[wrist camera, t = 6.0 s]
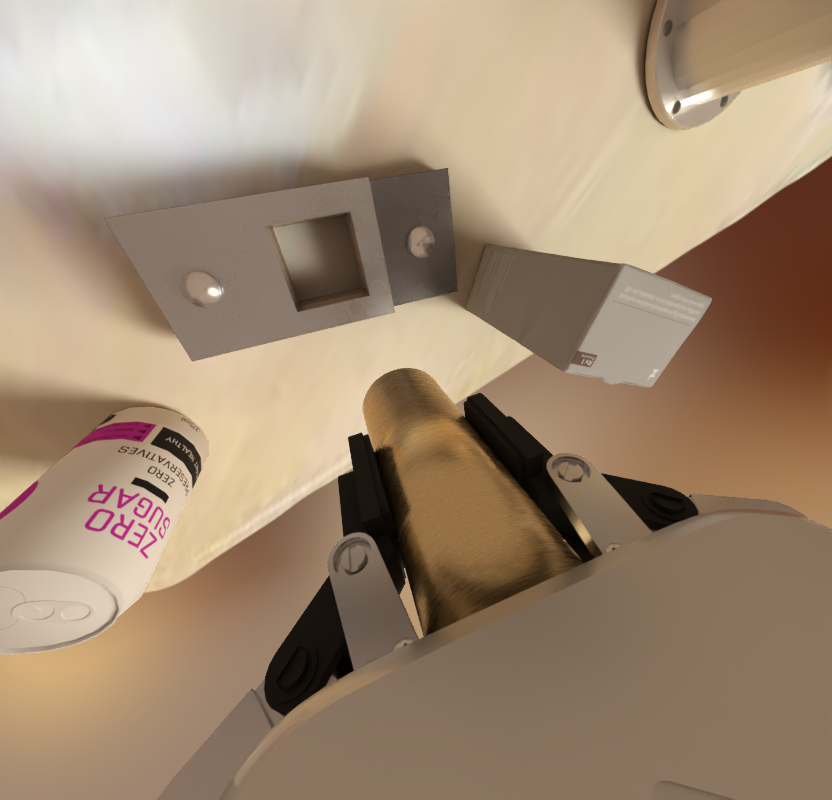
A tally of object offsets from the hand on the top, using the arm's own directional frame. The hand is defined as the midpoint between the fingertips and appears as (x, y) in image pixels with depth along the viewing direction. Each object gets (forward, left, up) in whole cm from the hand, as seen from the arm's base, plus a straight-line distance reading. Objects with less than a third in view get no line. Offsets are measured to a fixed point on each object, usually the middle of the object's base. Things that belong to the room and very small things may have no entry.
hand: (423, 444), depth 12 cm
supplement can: (+21, +6, -19) cm, 29 cm away
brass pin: (0, 0, -3) cm, 3 cm away
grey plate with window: (+2, -6, -19) cm, 20 cm away
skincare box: (-15, 0, -19) cm, 25 cm away
